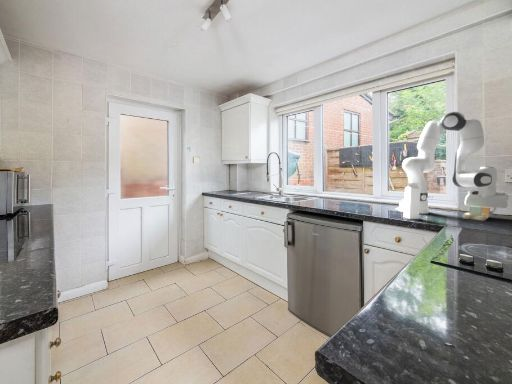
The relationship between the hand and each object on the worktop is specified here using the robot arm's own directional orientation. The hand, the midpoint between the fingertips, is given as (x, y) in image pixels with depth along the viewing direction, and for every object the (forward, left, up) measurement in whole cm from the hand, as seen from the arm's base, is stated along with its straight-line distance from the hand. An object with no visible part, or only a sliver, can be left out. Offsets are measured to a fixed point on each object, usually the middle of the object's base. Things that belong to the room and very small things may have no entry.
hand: (484, 213), depth 158 cm
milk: (-1, -49, -2) cm, 49 cm away
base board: (+4, -10, -2) cm, 11 cm away
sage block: (+4, -10, 0) cm, 11 cm away
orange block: (0, 0, -2) cm, 2 cm away
